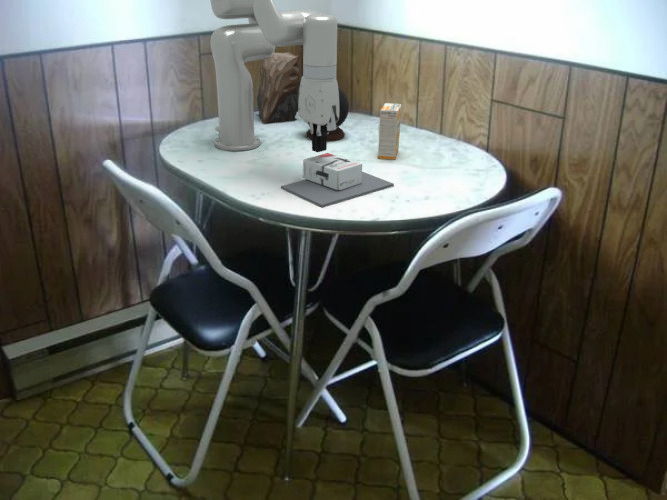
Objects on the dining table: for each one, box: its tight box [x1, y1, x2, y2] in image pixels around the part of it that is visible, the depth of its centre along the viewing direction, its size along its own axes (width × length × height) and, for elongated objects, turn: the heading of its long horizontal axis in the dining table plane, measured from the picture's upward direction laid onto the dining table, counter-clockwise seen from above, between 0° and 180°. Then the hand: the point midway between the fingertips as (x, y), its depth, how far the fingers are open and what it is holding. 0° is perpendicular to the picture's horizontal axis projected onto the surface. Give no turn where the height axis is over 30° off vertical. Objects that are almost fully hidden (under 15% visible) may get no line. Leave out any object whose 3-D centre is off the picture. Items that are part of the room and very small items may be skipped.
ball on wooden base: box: [305, 86, 350, 142], centre depth 198 cm, size 13×13×15 cm
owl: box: [256, 51, 301, 125], centre depth 214 cm, size 13×13×20 cm
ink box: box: [302, 152, 363, 190], centre depth 164 cm, size 8×5×12 cm
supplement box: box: [377, 102, 402, 160], centre depth 183 cm, size 8×5×13 cm, turn 168°
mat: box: [280, 171, 395, 208], centre depth 163 cm, size 15×22×1 cm
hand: (319, 150), depth 164 cm, fingers closed
